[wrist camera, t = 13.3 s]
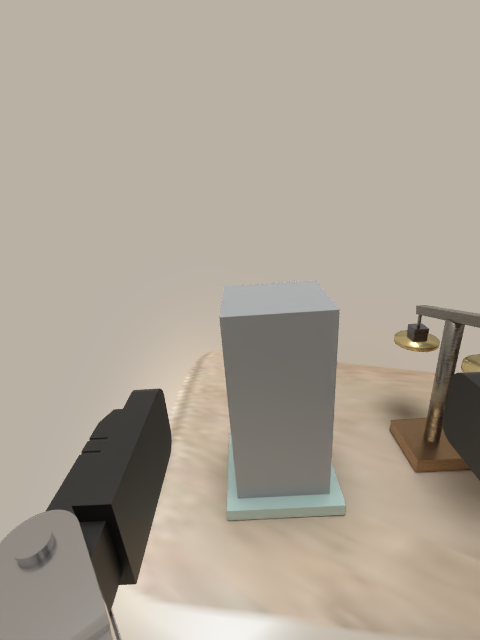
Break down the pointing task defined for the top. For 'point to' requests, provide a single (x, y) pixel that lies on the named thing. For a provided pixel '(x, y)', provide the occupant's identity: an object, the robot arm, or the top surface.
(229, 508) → the slab
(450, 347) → the balance
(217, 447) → the top surface
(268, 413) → the cover
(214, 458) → the top surface
